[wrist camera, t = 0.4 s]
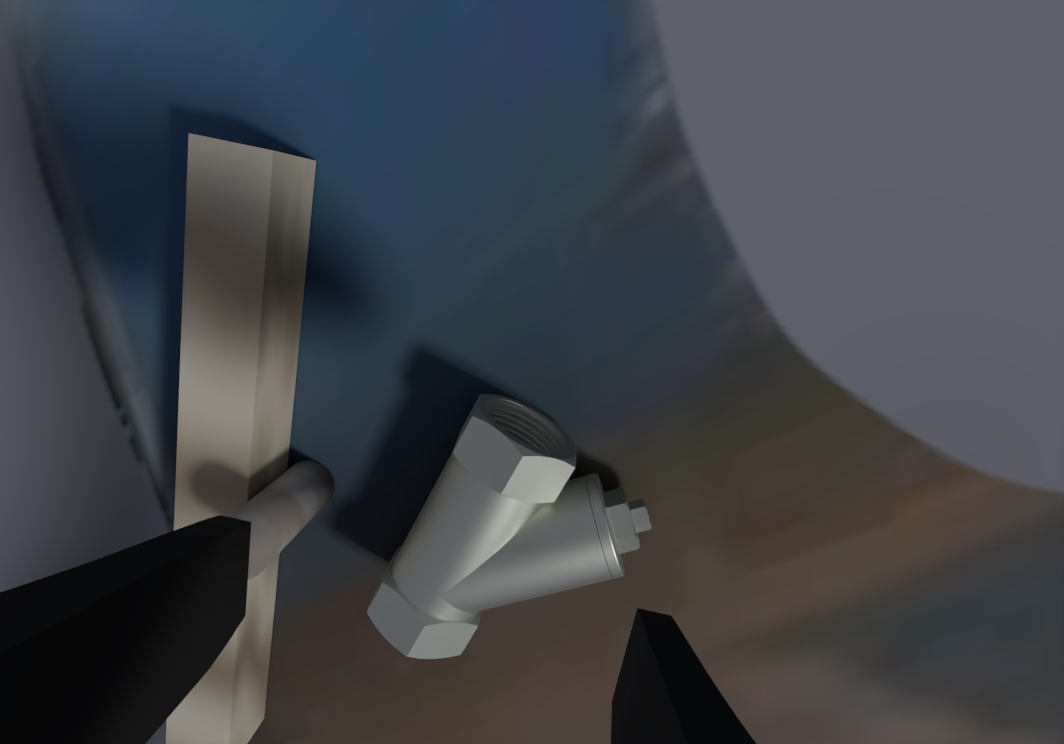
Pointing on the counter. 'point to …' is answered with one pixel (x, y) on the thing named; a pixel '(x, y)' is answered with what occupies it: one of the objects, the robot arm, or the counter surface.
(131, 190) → the counter surface
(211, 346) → the light wooden bar
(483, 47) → the counter surface
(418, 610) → the pipe fitting
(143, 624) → the robot arm
